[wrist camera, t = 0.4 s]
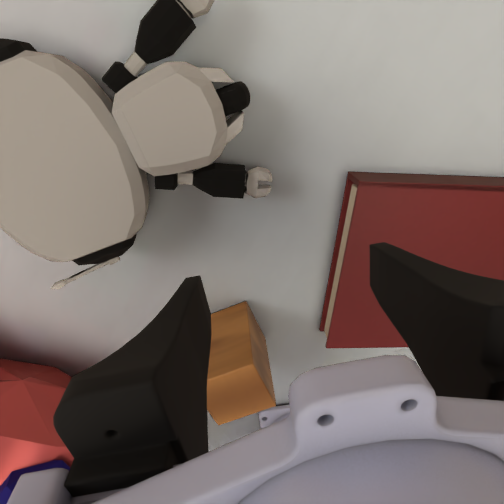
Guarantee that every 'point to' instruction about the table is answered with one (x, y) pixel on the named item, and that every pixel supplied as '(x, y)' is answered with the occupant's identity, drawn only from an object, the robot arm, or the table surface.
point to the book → (407, 243)
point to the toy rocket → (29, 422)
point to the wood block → (238, 366)
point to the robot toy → (112, 141)
